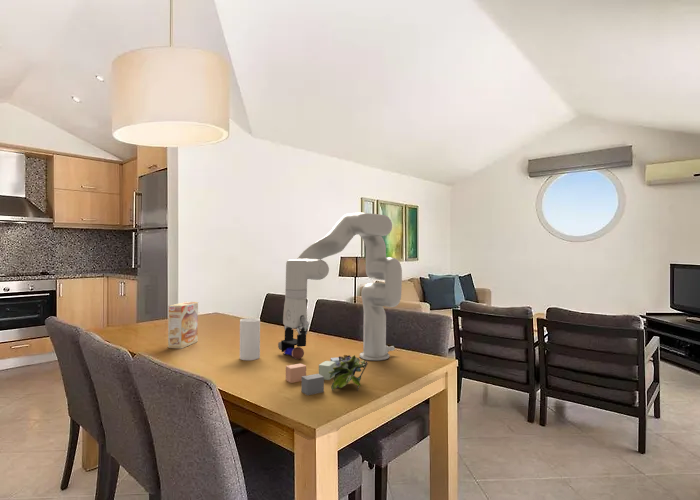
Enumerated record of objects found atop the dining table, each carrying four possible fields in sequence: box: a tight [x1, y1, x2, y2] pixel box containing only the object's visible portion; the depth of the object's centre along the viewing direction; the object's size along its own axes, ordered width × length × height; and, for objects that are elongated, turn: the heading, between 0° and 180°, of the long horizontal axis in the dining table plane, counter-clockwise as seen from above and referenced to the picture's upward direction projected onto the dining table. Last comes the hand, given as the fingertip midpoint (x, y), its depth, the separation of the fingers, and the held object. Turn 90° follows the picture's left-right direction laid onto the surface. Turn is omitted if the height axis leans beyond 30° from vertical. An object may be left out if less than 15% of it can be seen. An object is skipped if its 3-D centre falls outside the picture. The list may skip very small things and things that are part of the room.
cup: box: [239, 317, 261, 361], centre depth 178 cm, size 8×8×16 cm
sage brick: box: [318, 360, 336, 381], centre depth 153 cm, size 6×4×5 cm, turn 159°
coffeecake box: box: [167, 301, 199, 349], centre depth 201 cm, size 15×7×20 cm, turn 171°
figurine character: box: [277, 337, 305, 360], centre depth 181 cm, size 7×8×15 cm
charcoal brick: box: [300, 373, 325, 396], centre depth 137 cm, size 6×4×5 cm, turn 124°
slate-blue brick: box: [329, 356, 342, 364], centre depth 159 cm, size 6×4×5 cm, turn 104°
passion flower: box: [329, 354, 368, 391], centre depth 142 cm, size 13×12×14 cm
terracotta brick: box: [285, 362, 307, 384], centre depth 149 cm, size 6×4×5 cm, turn 124°
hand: (294, 343), depth 149 cm, fingers open, 9 cm apart
